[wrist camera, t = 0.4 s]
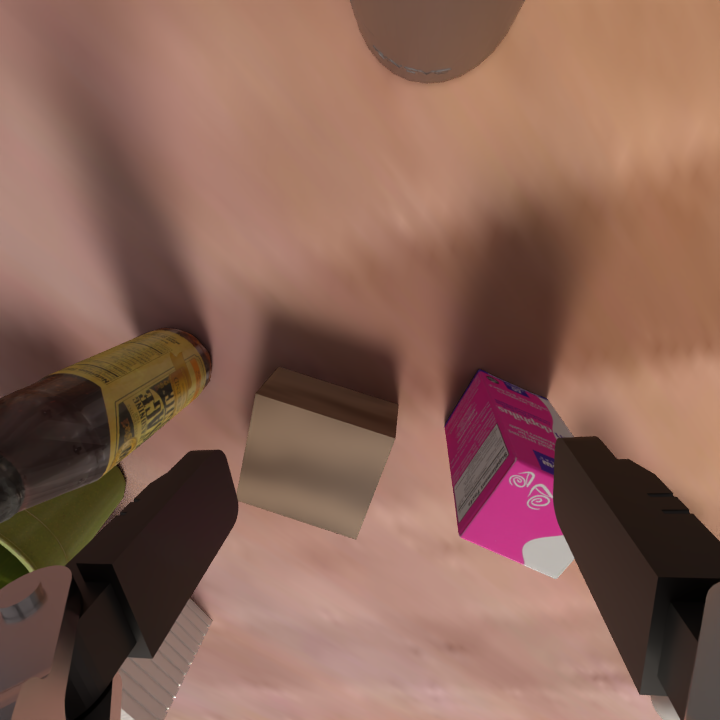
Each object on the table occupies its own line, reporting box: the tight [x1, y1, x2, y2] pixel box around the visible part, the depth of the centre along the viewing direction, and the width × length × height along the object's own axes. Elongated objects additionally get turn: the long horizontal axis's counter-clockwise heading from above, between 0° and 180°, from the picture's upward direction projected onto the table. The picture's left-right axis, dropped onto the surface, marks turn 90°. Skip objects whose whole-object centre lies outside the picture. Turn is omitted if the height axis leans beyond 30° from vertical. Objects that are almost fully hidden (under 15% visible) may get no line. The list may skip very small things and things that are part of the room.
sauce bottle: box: [0, 328, 212, 523], centre depth 22 cm, size 6×6×20 cm
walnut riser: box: [237, 367, 398, 539], centre depth 30 cm, size 10×10×5 cm
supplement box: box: [444, 369, 574, 579], centre depth 24 cm, size 6×6×12 cm
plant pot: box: [0, 465, 126, 589], centre depth 33 cm, size 12×12×11 cm
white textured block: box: [118, 598, 212, 720], centre depth 43 cm, size 32×11×11 cm, turn 123°
